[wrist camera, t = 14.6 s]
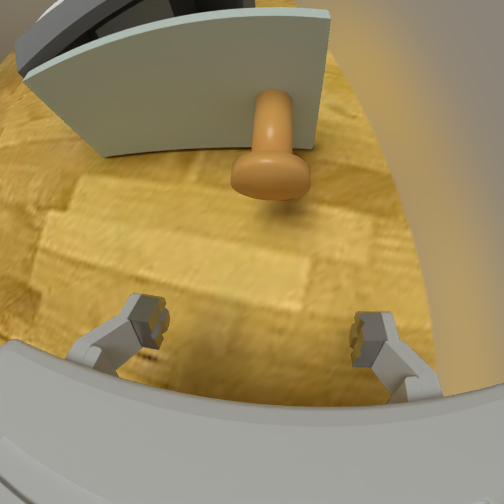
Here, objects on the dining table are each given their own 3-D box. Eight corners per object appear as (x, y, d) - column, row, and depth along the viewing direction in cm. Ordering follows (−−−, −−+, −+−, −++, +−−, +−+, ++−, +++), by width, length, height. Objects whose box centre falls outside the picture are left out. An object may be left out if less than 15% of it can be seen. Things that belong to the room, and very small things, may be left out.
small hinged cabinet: (100, 151, 25) (17, 72, 11) (72, 105, 28) (14, 42, 14) (271, 34, 26) (262, -61, 13) (214, 9, 29) (195, -65, 15)
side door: (88, 216, 23) (-16, 158, 10) (105, 148, 25) (28, 71, 12) (313, 220, 21) (349, 108, 8) (312, 139, 22) (328, 10, 10)
